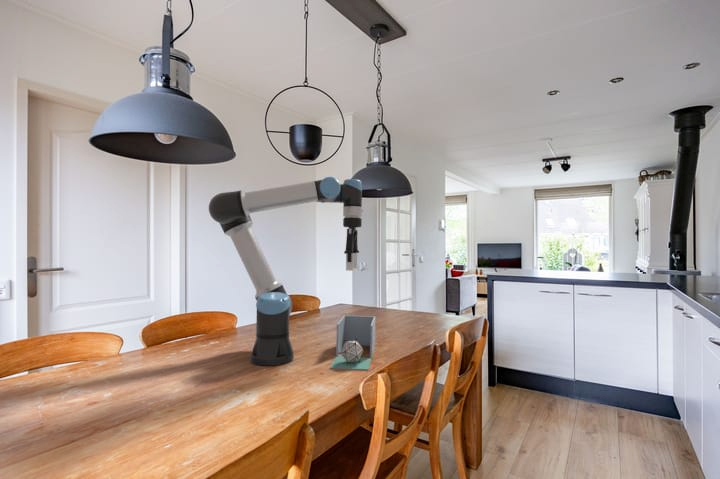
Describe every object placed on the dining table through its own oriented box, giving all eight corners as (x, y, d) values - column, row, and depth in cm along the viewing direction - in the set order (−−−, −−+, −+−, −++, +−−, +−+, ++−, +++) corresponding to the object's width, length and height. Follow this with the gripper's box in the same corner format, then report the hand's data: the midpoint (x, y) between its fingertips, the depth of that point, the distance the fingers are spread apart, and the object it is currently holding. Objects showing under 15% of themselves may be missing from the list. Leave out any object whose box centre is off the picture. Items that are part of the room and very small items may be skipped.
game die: (356, 374, 129) (364, 356, 124) (333, 365, 130) (340, 346, 124) (362, 355, 137) (370, 337, 131) (340, 346, 137) (347, 328, 132)
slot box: (336, 356, 138) (336, 324, 139) (343, 344, 156) (343, 315, 156) (372, 358, 137) (372, 325, 137) (375, 345, 155) (375, 316, 155)
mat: (330, 368, 125) (330, 367, 125) (336, 357, 137) (336, 356, 137) (368, 370, 124) (368, 369, 124) (371, 359, 136) (371, 358, 136)
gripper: (358, 215, 139) (357, 271, 139) (364, 219, 164) (363, 267, 164) (338, 215, 140) (337, 271, 140) (347, 219, 165) (347, 267, 165)
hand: (351, 269), depth 152 cm, fingers open, 13 cm apart
